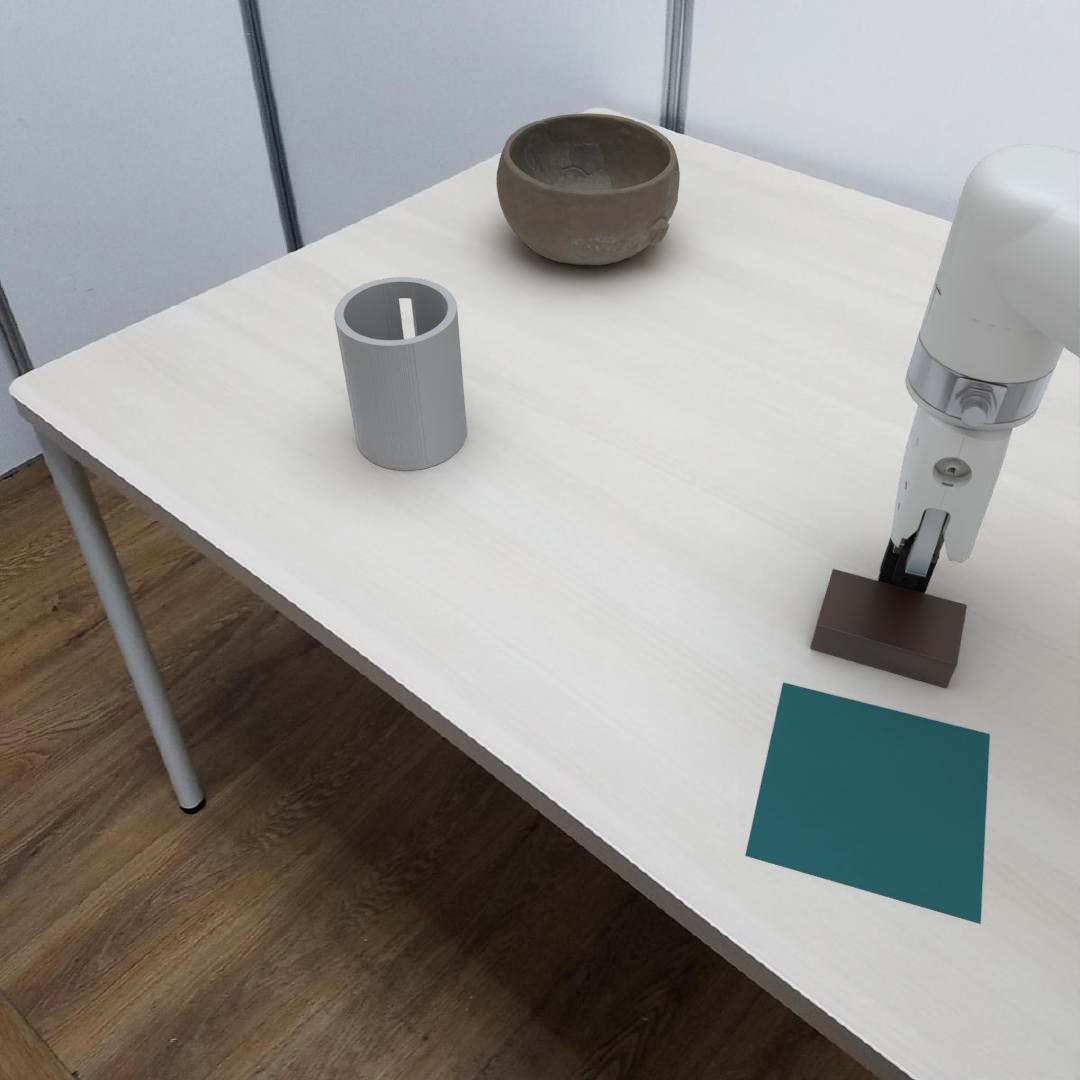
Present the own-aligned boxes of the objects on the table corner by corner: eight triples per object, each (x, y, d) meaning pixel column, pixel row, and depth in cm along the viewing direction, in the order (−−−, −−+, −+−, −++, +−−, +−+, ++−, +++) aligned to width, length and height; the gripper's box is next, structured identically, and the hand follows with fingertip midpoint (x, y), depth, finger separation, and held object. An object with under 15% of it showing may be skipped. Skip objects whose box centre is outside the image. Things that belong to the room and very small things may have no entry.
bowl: (703, 264, 106) (713, 169, 99) (537, 304, 102) (536, 207, 94) (627, 187, 117) (632, 97, 110) (475, 220, 113) (470, 127, 106)
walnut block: (957, 628, 73) (967, 604, 71) (947, 688, 70) (957, 665, 68) (826, 592, 76) (832, 568, 74) (809, 648, 72) (816, 625, 70)
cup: (380, 483, 84) (359, 359, 75) (341, 419, 90) (318, 296, 81) (484, 448, 87) (476, 324, 78) (440, 388, 93) (428, 265, 84)
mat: (988, 735, 67) (989, 733, 67) (979, 924, 59) (980, 923, 59) (782, 684, 70) (783, 682, 70) (745, 856, 62) (745, 855, 62)
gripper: (1042, 467, 55) (946, 679, 69) (1051, 312, 65) (965, 524, 78) (895, 435, 57) (829, 647, 70) (925, 289, 67) (862, 500, 80)
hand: (901, 582), depth 74 cm, fingers closed
